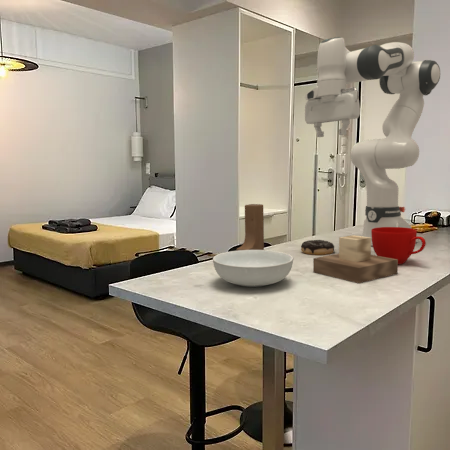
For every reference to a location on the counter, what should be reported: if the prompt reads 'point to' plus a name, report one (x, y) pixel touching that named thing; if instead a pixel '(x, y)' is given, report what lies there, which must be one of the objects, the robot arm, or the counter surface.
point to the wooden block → (253, 228)
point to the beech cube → (355, 248)
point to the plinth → (355, 268)
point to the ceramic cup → (395, 242)
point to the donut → (317, 247)
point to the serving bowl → (253, 267)
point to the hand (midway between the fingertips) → (331, 136)
